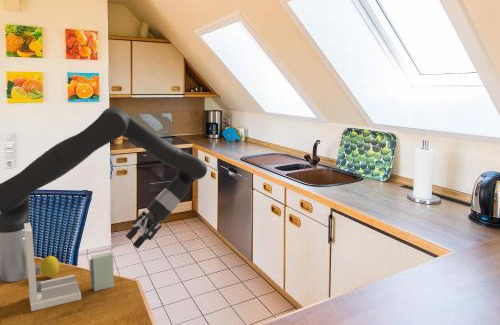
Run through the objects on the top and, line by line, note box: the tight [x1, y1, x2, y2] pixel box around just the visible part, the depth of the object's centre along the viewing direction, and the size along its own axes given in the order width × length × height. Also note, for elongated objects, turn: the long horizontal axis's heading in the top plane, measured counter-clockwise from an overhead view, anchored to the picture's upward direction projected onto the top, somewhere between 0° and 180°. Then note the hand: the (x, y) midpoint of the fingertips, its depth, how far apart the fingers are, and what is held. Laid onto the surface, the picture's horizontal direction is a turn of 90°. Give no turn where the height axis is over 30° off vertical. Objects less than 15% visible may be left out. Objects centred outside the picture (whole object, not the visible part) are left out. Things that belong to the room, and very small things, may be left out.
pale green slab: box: [89, 252, 115, 292], centre depth 127 cm, size 7×3×11 cm, turn 122°
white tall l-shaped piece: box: [24, 222, 82, 312], centre depth 119 cm, size 14×9×24 cm, turn 122°
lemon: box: [40, 255, 60, 279], centre depth 133 cm, size 6×6×8 cm
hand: (131, 242), depth 131 cm, fingers open, 8 cm apart
